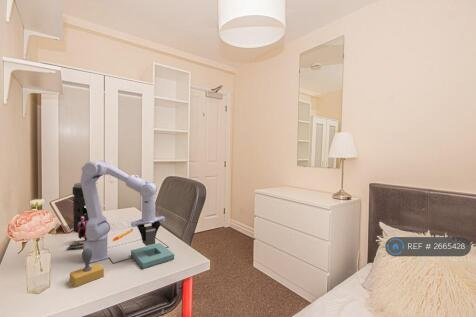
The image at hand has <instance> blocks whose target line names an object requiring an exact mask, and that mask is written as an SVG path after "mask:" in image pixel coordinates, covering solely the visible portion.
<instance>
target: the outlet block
mask: <svg viewBox="0 0 476 317" xmlns="http://www.w3.org/2000/svg"><path fill="white" fill-rule="evenodd" d="M130 256H131V258H133V260H134V261H135V262H136V263H137V264H138V265H139V266H140V267H141V269H142V270H145V269H148V268H151V267H155V266H158V265H161V264H165V263H167V262H170V261H173V260H175V254H174V252H172V251H171V250H170V249H168V248H167V247H166V246H164V244H162V243H160V242H157V243H155V244H152V245H148V246H146V245H145V246H143V247H138V248H135V249H131V250H130Z"/></svg>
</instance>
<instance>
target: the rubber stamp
mask: <svg viewBox="0 0 476 317" xmlns="http://www.w3.org/2000/svg"><path fill="white" fill-rule="evenodd" d="M91 257H92V250H91V249H89V248H87V249H85V250H83V249H82V252H81V258H82V260H83V262H84V264H85V265H84V267H82V268H80V269H77V270H73V271H71V272H69V283H70V285H72V287H73V288H77V287H79V286H82V285H85V284H88V283H91V282H93V281H96V280H98V279H101V278H103V277H104V276H105V274H104V272H105V270H104V267H103V266H102V265H101V264H100V263H98V262H97V263H94V264H91V263H90V260H91ZM90 264H91V265H90Z"/></svg>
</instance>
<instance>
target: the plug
mask: <svg viewBox="0 0 476 317" xmlns="http://www.w3.org/2000/svg"><path fill="white" fill-rule="evenodd" d="M145 227H146V231H145V241H142V240H141V242H142V244H144V245H145V247H146V246H149V245H153V244H156V237H155V228H154V227H153V226H152V225H147V226H145Z"/></svg>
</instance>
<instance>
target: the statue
mask: <svg viewBox="0 0 476 317" xmlns="http://www.w3.org/2000/svg"><path fill="white" fill-rule="evenodd" d="M81 220H82V221H81V222H79V223H78V228H79V230H78V233H77V235H78V238H79V240H72V242H71V243H70V244H69V245H68V247H66V249H67V250H76V249H78V250H83V242H84V241H87V240H88V239H87V238H86V235H85V232H86V224H87V221H84V217H83V216H82V217H81ZM84 227H85V228H84ZM80 228H81V229H80ZM82 238H83V239H82Z"/></svg>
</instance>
